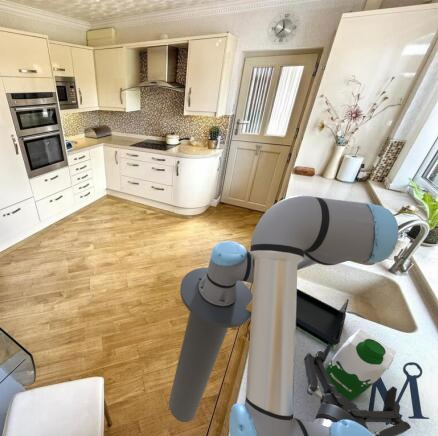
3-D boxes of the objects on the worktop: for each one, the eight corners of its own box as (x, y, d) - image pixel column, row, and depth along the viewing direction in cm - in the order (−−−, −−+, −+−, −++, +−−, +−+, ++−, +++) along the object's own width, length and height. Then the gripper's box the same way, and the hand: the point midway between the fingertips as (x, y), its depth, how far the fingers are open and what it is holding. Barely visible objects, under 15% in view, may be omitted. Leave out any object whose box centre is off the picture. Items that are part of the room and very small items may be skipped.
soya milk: (316, 377, 69) (350, 336, 59) (329, 361, 73) (362, 320, 63) (351, 407, 63) (395, 367, 53) (363, 387, 67) (406, 346, 57)
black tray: (276, 317, 87) (287, 296, 81) (289, 294, 97) (299, 274, 91) (333, 351, 76) (350, 330, 71) (340, 321, 87) (356, 301, 81)
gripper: (270, 390, 58) (301, 340, 71) (405, 511, 43) (413, 418, 55) (281, 375, 55) (311, 325, 67) (433, 500, 39) (435, 404, 51)
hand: (357, 367), depth 61 cm, fingers open, 13 cm apart
